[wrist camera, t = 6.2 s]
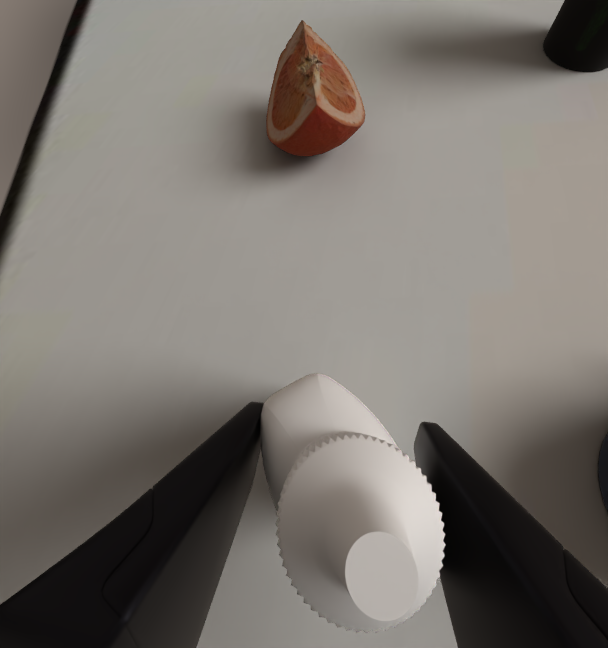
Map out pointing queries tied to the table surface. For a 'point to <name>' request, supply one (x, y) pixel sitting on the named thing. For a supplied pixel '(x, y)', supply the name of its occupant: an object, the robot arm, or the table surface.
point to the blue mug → (604, 471)
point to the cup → (579, 36)
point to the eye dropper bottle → (348, 507)
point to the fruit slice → (312, 98)
